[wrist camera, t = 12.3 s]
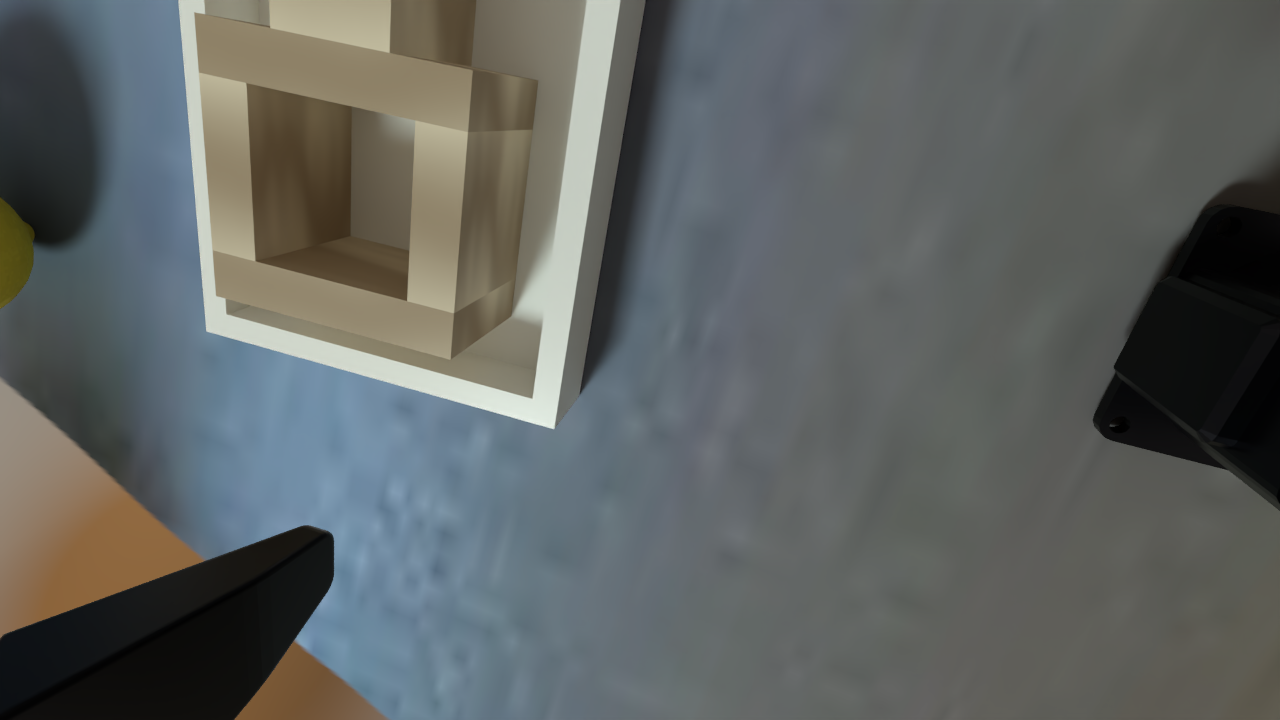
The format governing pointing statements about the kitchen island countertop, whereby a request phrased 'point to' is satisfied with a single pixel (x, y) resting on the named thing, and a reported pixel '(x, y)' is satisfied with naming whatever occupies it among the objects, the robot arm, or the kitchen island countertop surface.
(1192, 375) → the robot arm
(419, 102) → the birch collar
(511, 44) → the tray
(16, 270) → the lemon
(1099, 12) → the kitchen island countertop surface
